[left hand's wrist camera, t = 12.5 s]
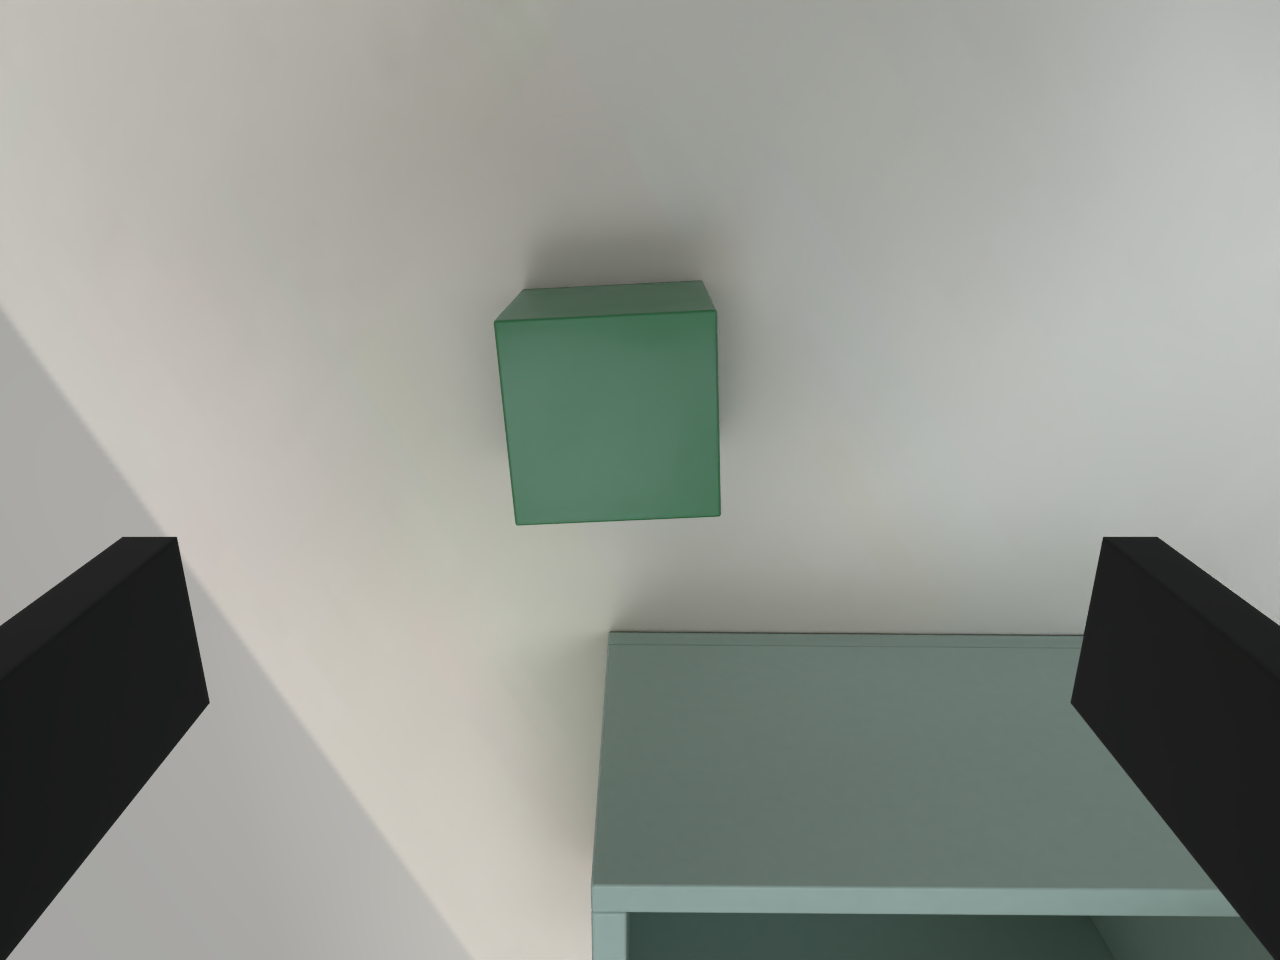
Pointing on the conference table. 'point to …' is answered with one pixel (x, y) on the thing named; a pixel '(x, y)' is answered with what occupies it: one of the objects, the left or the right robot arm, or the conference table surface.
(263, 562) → the conference table surface
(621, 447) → the block
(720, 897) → the chest
